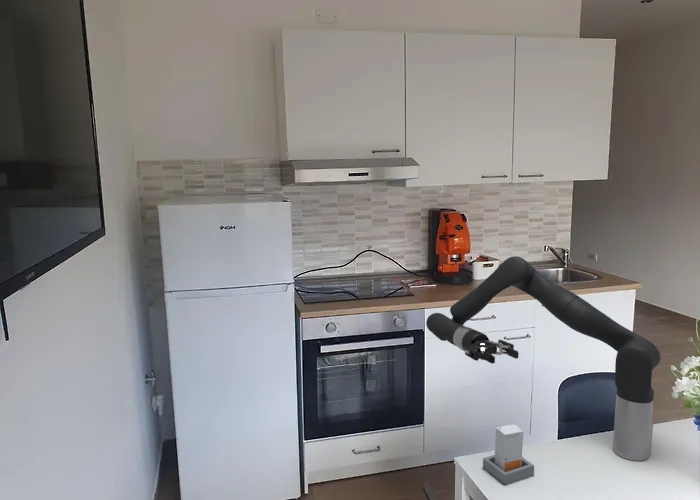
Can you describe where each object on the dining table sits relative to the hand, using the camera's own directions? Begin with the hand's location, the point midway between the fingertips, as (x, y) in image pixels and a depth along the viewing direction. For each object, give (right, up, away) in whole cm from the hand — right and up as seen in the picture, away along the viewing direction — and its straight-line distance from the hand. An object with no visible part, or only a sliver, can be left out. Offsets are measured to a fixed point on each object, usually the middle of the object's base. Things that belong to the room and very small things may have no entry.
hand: (506, 357), depth 150 cm
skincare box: (-2, -29, -7) cm, 30 cm away
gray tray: (-2, -30, -7) cm, 31 cm away
